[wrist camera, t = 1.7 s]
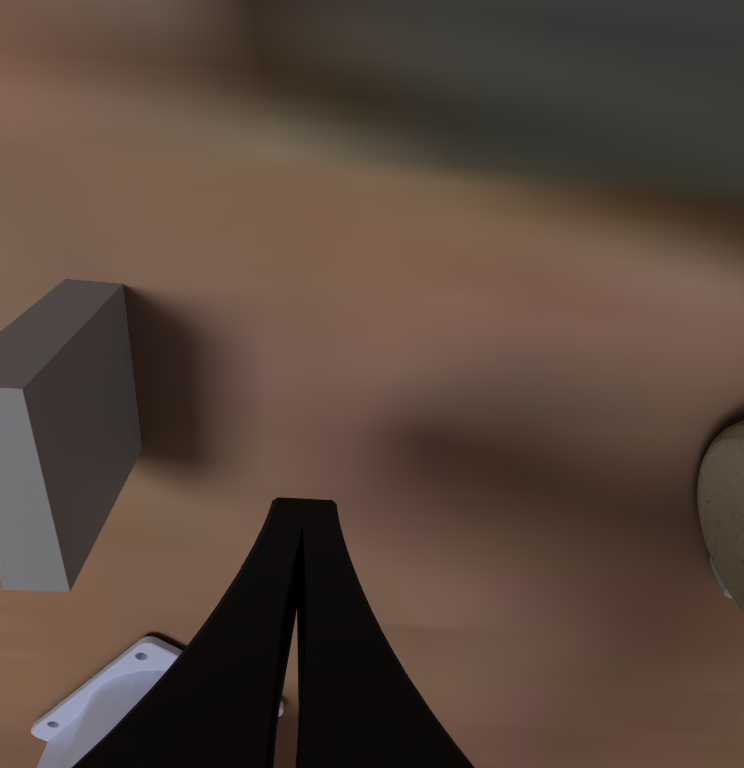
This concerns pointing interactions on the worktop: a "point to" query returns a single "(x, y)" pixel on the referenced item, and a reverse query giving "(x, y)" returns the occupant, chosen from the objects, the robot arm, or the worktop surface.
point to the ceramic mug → (724, 509)
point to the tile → (63, 431)
